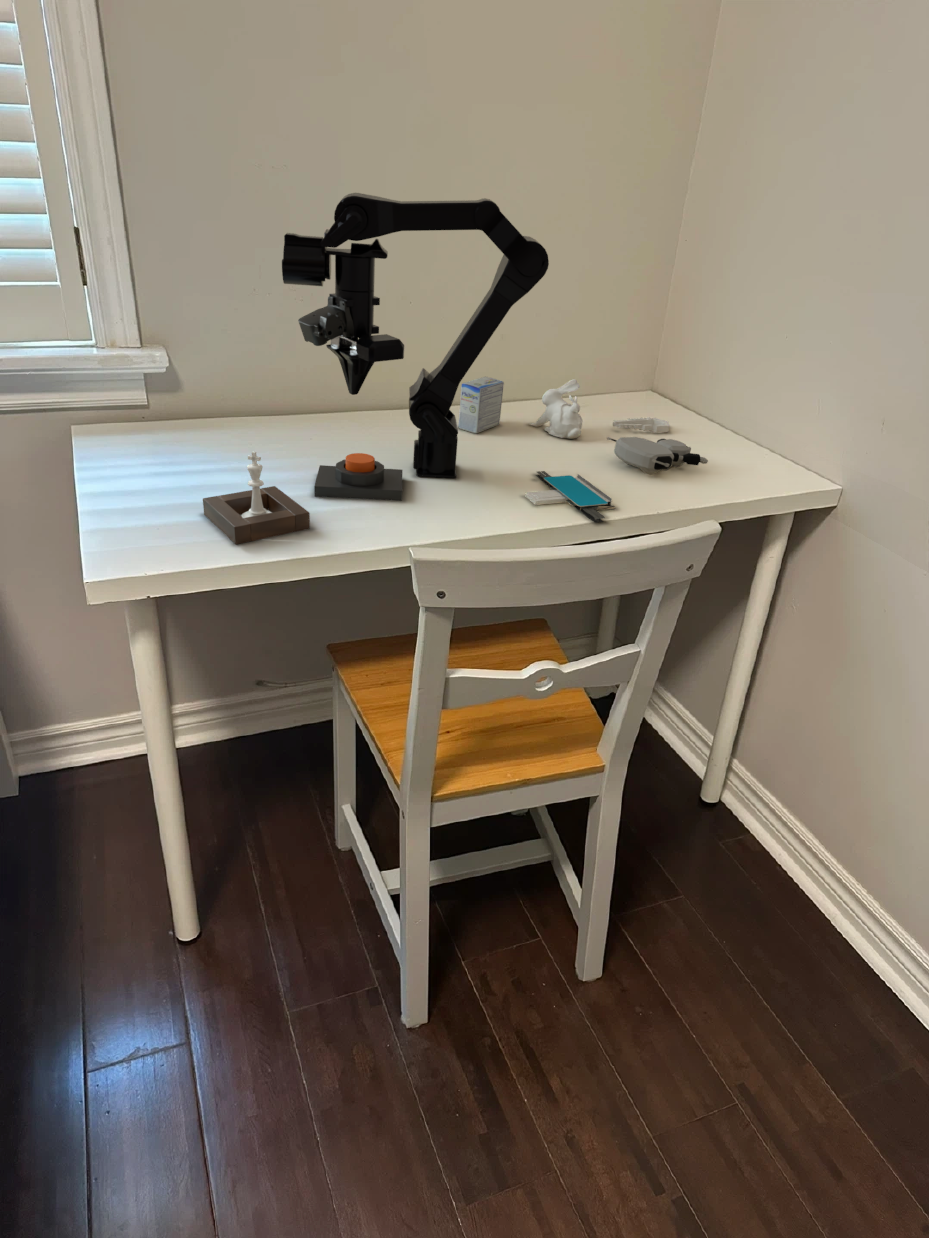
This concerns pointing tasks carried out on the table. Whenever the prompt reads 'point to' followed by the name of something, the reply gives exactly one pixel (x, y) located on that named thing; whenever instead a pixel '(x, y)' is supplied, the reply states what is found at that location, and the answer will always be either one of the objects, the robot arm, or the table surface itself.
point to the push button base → (358, 483)
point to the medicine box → (480, 404)
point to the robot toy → (655, 453)
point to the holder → (242, 530)
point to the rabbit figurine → (561, 412)
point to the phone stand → (572, 495)
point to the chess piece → (255, 488)
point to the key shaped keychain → (644, 424)
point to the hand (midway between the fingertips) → (353, 394)
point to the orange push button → (360, 462)
